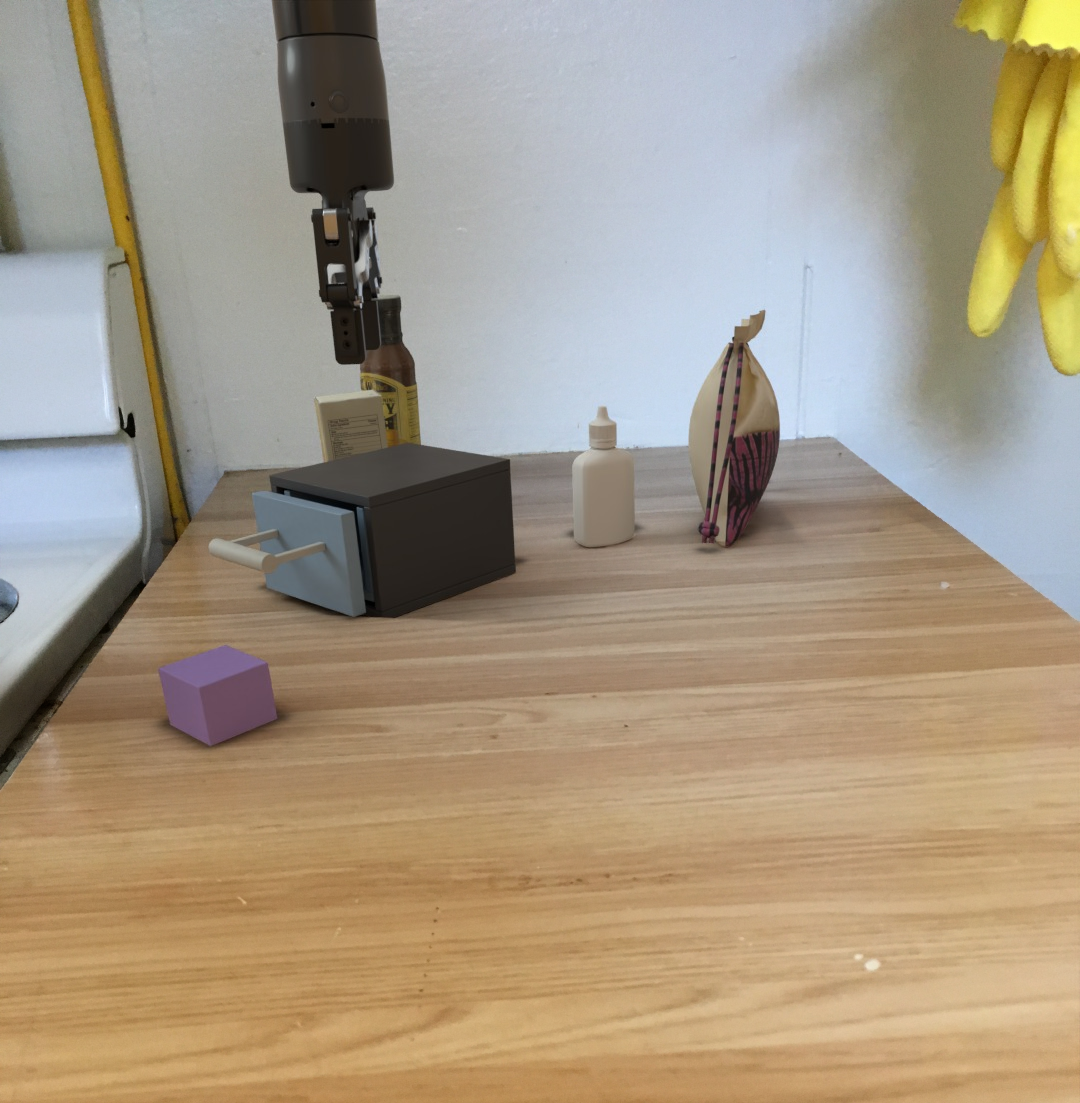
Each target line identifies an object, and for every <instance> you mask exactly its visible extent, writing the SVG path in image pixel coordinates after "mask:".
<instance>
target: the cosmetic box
mask: <svg viewBox="0 0 1080 1103" xmlns="http://www.w3.org/2000/svg"><path fill="white" fill-rule="evenodd" d="M313 402H314V407H315V413H316V420H317V421H316V422H317V427H318V432H319V440H320V447H321V453H322V460H323V463H324V462H328V461H332V460H336V459H341V458H345V457H349V456H353V455H358V454H362V453H366V452H371V451H375V450H379V449H383V448H388V444H387V436H386V428H385V421H384V413H383V405H382V397H381V395H380V394H379V393H377V392H376V391H374V390H367V391H361V390H359V391H353V392H344V393H343V392H342V393H335V394H327V395H316V396H313Z"/></svg>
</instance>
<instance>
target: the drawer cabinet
mask: <svg viewBox="0 0 1080 1103" xmlns="http://www.w3.org/2000/svg"><path fill="white" fill-rule="evenodd" d="M511 475H512V474H511V459H510V458H506V457H505V458H504V457H500V456H499V457H498V456H493V455H486V454H480V453H475V452H468V451H462V450H455V449H450V448H443V447H437V446H431V445H425V444H421V445H419V444H413V443H405V444H400V445H396V446H392V447H388V448H383V449H379V450H375V451H371V452H366V453H362V454H358V455H353V456H349V457H345V458H341V459H336V460H332V461H328V462H324V461H323V462H320V463H316V464H311V465H307V466H302V467H298V468H294V469H290V470H285V471H280V472H277V473H272V474H269V475H268V477H269V484H270V490H271V491H270V492H273V493H277V494H282V495H285V494H284V491H285V490H288V489H291V490H295V491H299V492H304V493H308V494H312V495H317V496H321V497H326V498H330V499H334V500H339V501H343V502H347V503H352V504H356V505H360V506H365V507H364V512H365V521H366V530H367V538H368V547H369V555H370V564H371V573H372V581H373V590H374V598H375V602H372V601H369V600H365V599H364V600H365V608H366V613H364V614H361V616H364V617H367V618H380V619H381V618H382V619H394V618H397V617H400V616H402V615H405V614H408V613H410V612H413V611H416V610H418V609H422V608H424V607H426V606H429V605H432V604H435V603H438V602H439V601H440V602H441V601H443V600H446V599H448V598H451V597H453V596H456V595H460V594H461V593H464V592H467V591H470V590H473V589H475V588H478V587H480V586H483V585H486V584H488V583H492V582H495V581H497V580H500V579H502V578H505V577H507V576H510V575H513V574H515V573H517V566H516V550H515V549H516V548H515V531H514V530H515V528H514V510H513V494H512V492H513V490H512V476H511Z"/></svg>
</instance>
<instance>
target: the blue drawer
mask: <svg viewBox="0 0 1080 1103" xmlns="http://www.w3.org/2000/svg"><path fill="white" fill-rule="evenodd" d="M284 494H285V495H282V494H277V493H273V492H272V491H268V490H265V489H264V490H260V491H259V490H258V491H254V492H252V493H251V497H252V498H251V499H252V503H253V511H254V517H255V523H256V529H257V533H254V534H249V535H245V536H243V537H239V538H235V539H231V540H226V539H223V538H220V537H215V538H213V539H212V540H211V541H209V544H208V553H209V554H210V555H211V556H212V557H214V558H217V559H221V560H224V561H227V562H229V563H233V564H237V565H239V566H243V567H246V568H249V569H252V570H255V571H258V572H262V573H264V577H265V585H266V588H267V589H269V590H272V591H275V592H278V593H281V594H284V595H286V596H290V597H293V598H296V599H299V600H301V601H304V602H307V603H311V604H314V605H316V606H320V607H321V608H322V607H323V608H325V609H329V610H332V611H334V612H338V613H341V614H344V615H347V616H349V617H353V618H355V617H358V616H362V614H364V613H366V608H365V600H369V601H372V602H375V598H374V590H373V581H372V573H371V564H370V555H369V547H368V538H367V530H366V521H365V512H364V507H365V506H360V505H356V504H352V503H347V502H343V501H339V500H334V499H330V498H326V497H321V496H317V495H312V494H308V493H304V492H299V491H295V490H291V489H288V490H285V491H284ZM256 544H259V547H260V550H259V549H256V548H252V547H249V546H252V545H256ZM364 599H365V600H364Z"/></svg>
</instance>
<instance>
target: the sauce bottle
mask: <svg viewBox="0 0 1080 1103" xmlns="http://www.w3.org/2000/svg"><path fill="white" fill-rule="evenodd" d="M374 300H377V302H378V313H379V324H380V334H381V346H380V347H379V348H378V349H376V350H366V360H365V361H364V362H363V363H362V364H359V371H360V372H359V382H360V383H359V384H360V391H367V390H374V391H376V392H377V393H379V394H380V395H381V397H382V405H383V413H384V421H385V428H386V436H387V444H388V447H392V446H396V445H400V444H405V443H413V444H419V445H422V438H421V437H422V436H421V424H420V410H419V396H418V383H417V380H416V362H415V360H414V358H413V355H412V353H411V352H410V350H409V349H408V348H407V346H406V345H405V343H404V340H403V337H404V333H403V332H402V319H401V312H402V298H401V296H400V295H399V294H379V299H374Z"/></svg>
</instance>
